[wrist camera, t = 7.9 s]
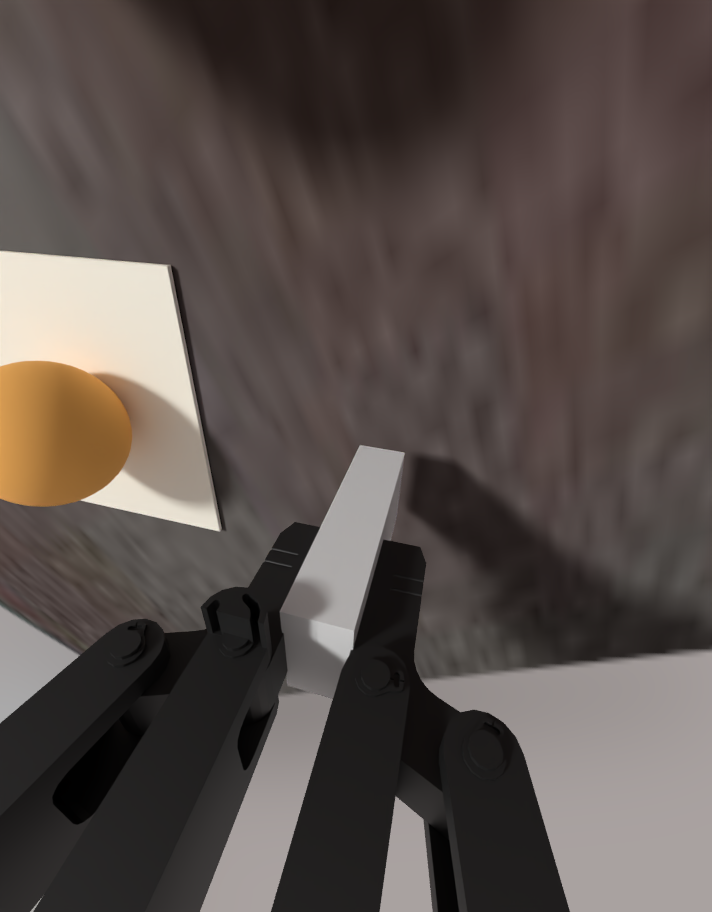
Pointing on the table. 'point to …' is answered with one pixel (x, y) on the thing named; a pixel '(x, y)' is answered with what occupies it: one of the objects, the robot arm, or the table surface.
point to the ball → (58, 434)
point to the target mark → (119, 368)
